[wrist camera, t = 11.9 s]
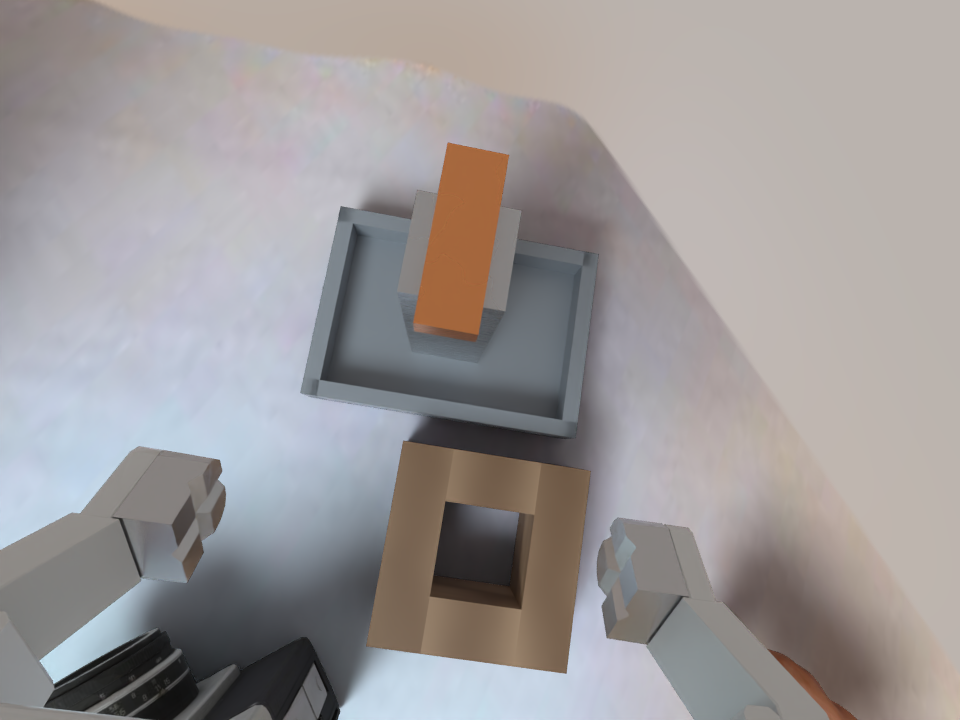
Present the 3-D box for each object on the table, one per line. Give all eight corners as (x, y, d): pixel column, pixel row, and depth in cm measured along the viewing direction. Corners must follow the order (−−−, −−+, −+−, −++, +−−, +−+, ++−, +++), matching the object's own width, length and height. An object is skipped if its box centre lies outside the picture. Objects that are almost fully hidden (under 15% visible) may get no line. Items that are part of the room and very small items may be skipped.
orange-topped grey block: (407, 373, 28) (386, 318, 16) (427, 268, 29) (423, 137, 17) (473, 385, 28) (504, 339, 16) (491, 280, 29) (533, 160, 17)
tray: (311, 397, 28) (300, 393, 26) (348, 224, 30) (340, 206, 28) (564, 438, 29) (575, 438, 27) (586, 268, 31) (598, 254, 29)
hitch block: (375, 616, 27) (366, 646, 23) (407, 441, 28) (403, 440, 25) (547, 640, 28) (566, 673, 24) (569, 467, 29) (590, 471, 25)
